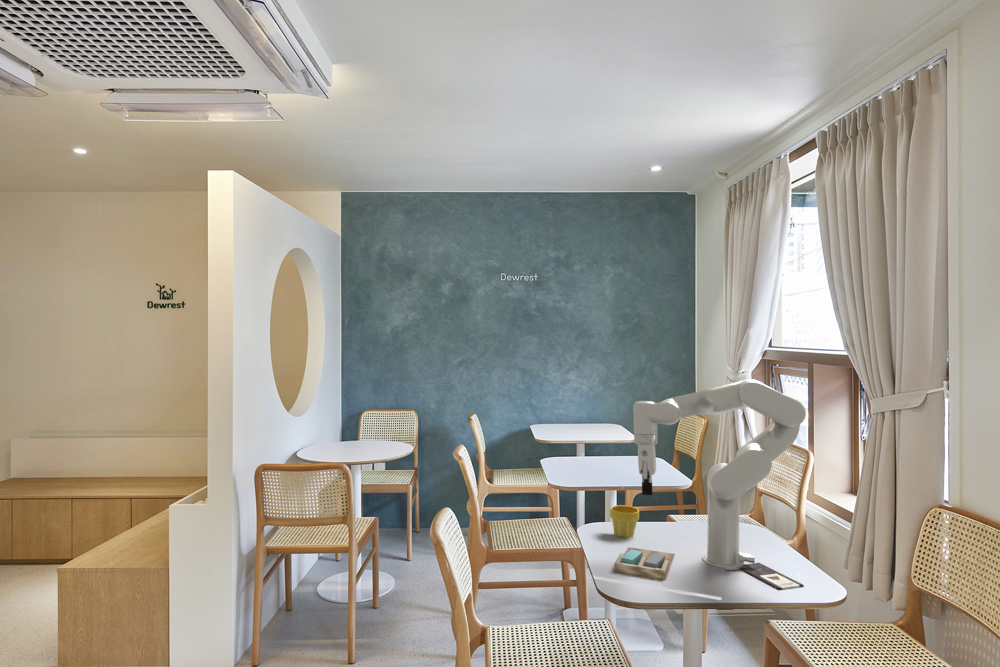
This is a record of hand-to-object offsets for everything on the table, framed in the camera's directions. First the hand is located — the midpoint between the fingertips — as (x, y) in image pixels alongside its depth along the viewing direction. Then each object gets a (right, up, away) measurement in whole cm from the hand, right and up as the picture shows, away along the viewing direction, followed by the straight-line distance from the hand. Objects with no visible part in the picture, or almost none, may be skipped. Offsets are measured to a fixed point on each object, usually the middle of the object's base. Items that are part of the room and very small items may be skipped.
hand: (647, 494), depth 197 cm
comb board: (-3, -20, -9) cm, 22 cm away
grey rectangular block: (-1, -19, -16) cm, 25 cm away
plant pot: (-4, -21, +19) cm, 28 cm away
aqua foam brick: (-8, -19, -12) cm, 24 cm away
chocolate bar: (+32, -21, -17) cm, 42 cm away
